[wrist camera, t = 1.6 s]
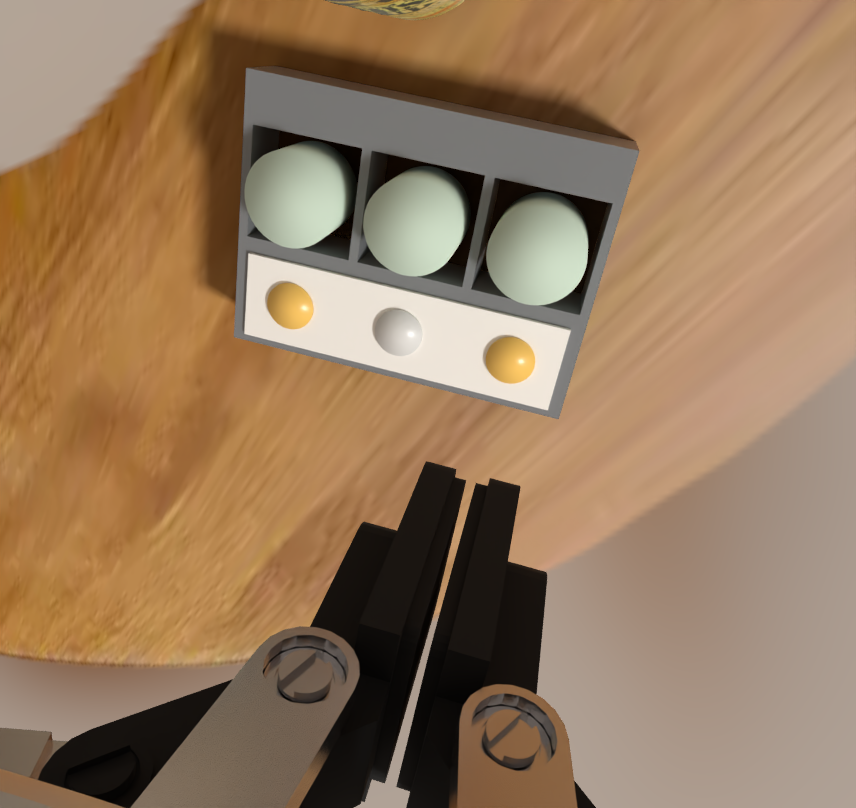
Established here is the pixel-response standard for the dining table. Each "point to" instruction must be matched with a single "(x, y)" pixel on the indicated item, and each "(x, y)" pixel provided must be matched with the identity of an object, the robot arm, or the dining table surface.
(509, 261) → the end button
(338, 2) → the sauce bottle
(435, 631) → the robot arm
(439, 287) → the button board
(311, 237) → the end button
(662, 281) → the dining table surface
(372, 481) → the dining table surface
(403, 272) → the middle button
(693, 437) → the dining table surface
